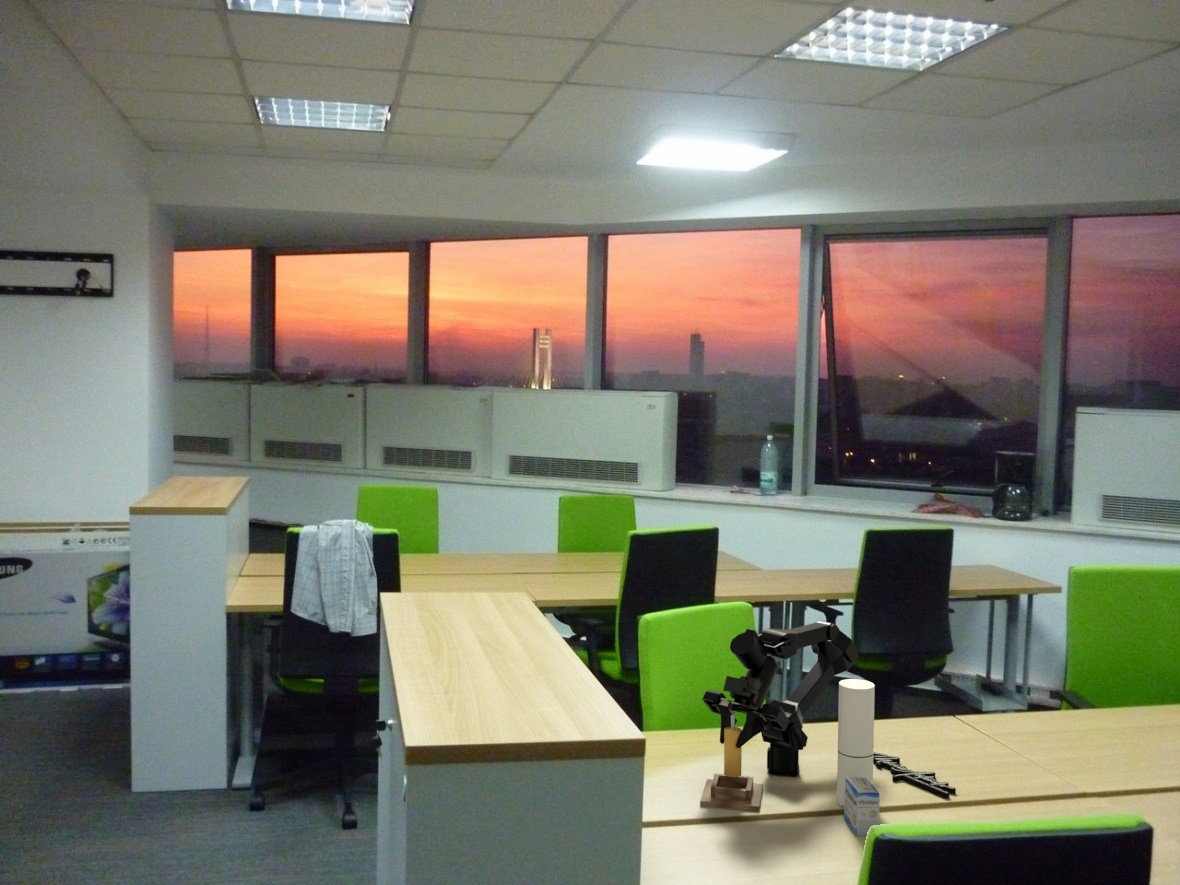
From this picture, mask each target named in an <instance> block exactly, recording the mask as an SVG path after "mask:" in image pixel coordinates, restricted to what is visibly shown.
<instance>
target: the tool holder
mask: <svg viewBox="0 0 1180 885" xmlns="http://www.w3.org/2000/svg"><path fill="white" fill-rule="evenodd" d="M763 790H764V784H763V783H758V782H757V783H754V777H753V776H752V777H751V776H749V775H742V774H741V776H739V777H728V776H726V775H724V773H718V774H717V773H715V774H714V775H713V778H712V779H711V778H706V781H705V784H704V787H703V791H702V794H701V798H700V802H699V806H700V807H709V808H719V809H729V808H731V809H730V810H739V809H740V810H741V811H750V810H753V811H752V812H760V809H761V801H762V797H763ZM743 809H744V810H743Z"/></svg>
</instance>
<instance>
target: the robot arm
mask: <svg viewBox="0 0 1180 885" xmlns="http://www.w3.org/2000/svg"><path fill="white" fill-rule="evenodd" d="M812 645H815V647H816V649H817V660H816V663H815V664H814V665H813V666H812V668H810V670H809V671H808V672H807V673H806V675H805V676H804V677H803V678H802V680H801V681H800V682H799V683H798V684H797V686H796V687H795V688H794V690H793V691H792V692H791V693H790V695H789V696H788V697H787V699H785V701H781V700H778V699H777V700H776V699H774V700H772V701H771V702H770V703H768V702H767V703H764V702H765V699H769V698H771V692H769V691H770V688H771V686H772V684H773V681H774V679H775V677H776V675H778V676H782V675H783V669H782V667H781V663H780V662H779V661H776V660H775V658H778V659H782V660H788V659H790V658H792V657H794V656H796V655H797V654H798V650H800V649H803V648H806V647H809V646H812ZM729 648H730V652H731V653H732V654H733V655H734V657H736V660H738V662H739V663H740V664H741V665H742V666H743V667H744V668H745V669H747V671H746V674H745V676H744V675H741V676H740V677H739V678H738V677H734V676H731V675H726V677H725V681H724V684H723V689H722V691H723V692H727V693H729V696H730V697H731V699H733V700H731V699H728V698H727V696H726V695H725V694H724V693H723V692H720V691H716V690H713V689H707V690H705V692H704V694H703V696H702V698H701V701H702V702H703V703H704V705H705V706H706V707H707V708H708V709H709V710H710V712H711V713H713V714H717V715H720V732H719V743H720V744H721V745H724V729H725V728H726V727H731V715H735V713H736V712H737V713H740V714H744V715H745V722H744V725H743V727H742V728H741V729H742V731H741V733H740V735H739V737H738V740H737V743H736V747H737V748H740V747H743V746H744V745H745V744H746V743H748V742H749V741H750V740H752V738H754V737H756V736H757V735H759V733H760V734H761V737H762V741H763V743H768V744H769V746H768V747H767V751H766V752H767V753H766V760H767V761H766V769H767V770H768V775H771V776H782V777H790V778H791V777H795V778H798V777H800V776H799V775H800V764H799V757H800V753H799V752H800V751H803V750H804V748H805V747H807V743H808V739H809V738H808V736H807V734H806V733H805V731H803V722H804V721H803V718H804V715H805V714H806V712H807V711H808V710H809V709H810V707H811V706H812V705H813V704H814V703H815V701H816V700H817V699H818V697H819V696H820V695H821V693H822V692H823V691H824V690H825V689H826V688H827V686H828V684H829V683H830V682H831V681H832V680H833V678H834V677H835V676H836V675H839V674H842V673H845V672H847V671H848V670H849V669H851V668H852V666H854V665H855V664H856V662H857V660H858V659H859V655H860V654H859V652H860V651H859V649H858V647H857V645H856V643H855V642H854V641H853V640H852V639H851V637H849V636H848V635H847V634H845V633H844V632H843V631H842V630H840V629H839V627H838V625H836V624H835V623H834V622H828V621H824V620H818V621H817V620H816V621H814V622H813V623H808V624H804V625H802V626H798V627H794V628H790V629H780V628H765V629H763V630H762V631H761V633H759V634H758V633H757V631H756V630H755V629H751V628H746V630H745V631H744V632H741V633H738V635H736V636H735V637H733V638H732V639H731V641H730V644H729ZM737 722H738V719H737V718H736V717H735V725H736V724H737Z"/></svg>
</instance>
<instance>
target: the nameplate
mask: <svg viewBox="0 0 1180 885" xmlns="http://www.w3.org/2000/svg"><path fill="white" fill-rule="evenodd" d="M900 759H901V757H898V756H891V755H888V754H885V753H881V752H880V753H879V752H874V751H873V765H875V768H876V769H878V770H882V769H886V770H888V771H890V774H891V775H892V779H891V780H892V783H896V782H905V783H907V784H910V785H912V786H914V787H917V788H919V789H921V790H924V791H926V792H929V793H931V794H933V795H935V796H938V797H940V798H942V799H944V800H949V799H950V795H956V794H957V793H956V792H957V790H956V789H957V788H956V787H953V786H949V782H939V781H937V779H936V772H934V771H933V772H932V771H914V770H912V769H911V770H910V769H908V768H907V767H906V766H904V765H903V766H902V765H899V764H900V762H901V760H900Z"/></svg>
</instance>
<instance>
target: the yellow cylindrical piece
mask: <svg viewBox="0 0 1180 885" xmlns="http://www.w3.org/2000/svg"><path fill="white" fill-rule="evenodd" d="M735 718H736V716H735V714H734V715H731V727H726V728H725V729H724V744H723V762H724V763H723V774H724V775H726V776H728V777H739V776H741V775H742V755H743V754H742V747H743V746H742V747H740V748H737V747H736V743H737V740H738V737H739V735H740V733H741V731H742V729H743V728H740V727H738V726H736V724H735Z"/></svg>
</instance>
